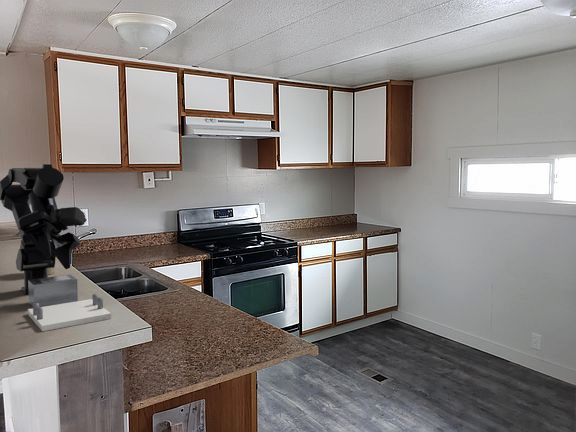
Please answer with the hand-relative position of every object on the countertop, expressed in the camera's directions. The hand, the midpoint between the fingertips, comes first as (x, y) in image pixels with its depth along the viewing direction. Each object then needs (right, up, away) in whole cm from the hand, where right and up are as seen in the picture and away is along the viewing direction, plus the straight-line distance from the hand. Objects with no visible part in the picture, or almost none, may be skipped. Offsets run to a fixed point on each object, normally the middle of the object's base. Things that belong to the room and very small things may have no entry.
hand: (58, 262), depth 114 cm
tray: (+4, -12, -4) cm, 13 cm away
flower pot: (-22, -7, +36) cm, 43 cm away
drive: (-4, -11, +7) cm, 13 cm away
